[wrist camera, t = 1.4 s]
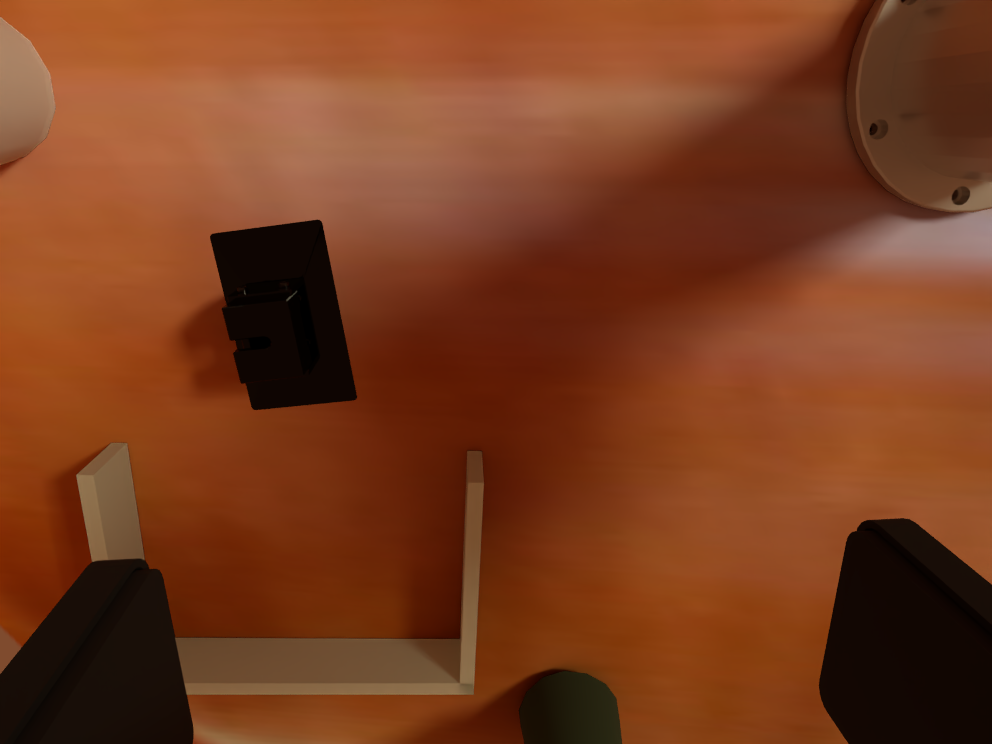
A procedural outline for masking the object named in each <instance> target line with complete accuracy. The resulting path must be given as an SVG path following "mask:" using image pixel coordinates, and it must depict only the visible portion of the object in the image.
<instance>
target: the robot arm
mask: <svg viewBox="0 0 992 744" xmlns="http://www.w3.org/2000/svg"><path fill="white" fill-rule="evenodd" d="M846 108H847V115H848V121H849V128H850V133H851V136H852V139H853V141H854V144H855V147H856V150H857V153H858V155H859V157H860V158H861V160H862V161H863V163H864V165H865V166H866V168H867V169H868V171H869V173H870V174H871V175H872V176H873V177H874V178H875V179H876V180H877V181H878V182H879V183H880V184H881V185H882V186H883V187H884V188H885V189H886V190H887V191H889V192H890V193H892V194H894V195H895V196H897V197H899V198H900V199H902V200H904V201H905V202H908V203H911V204H914V205H917V206H920V207H923V208H926V209H933V210H939V211H945V212H976V211H981V210H986V209H991V208H992V0H875V2H874V4H873V6H872V7H871V9H870V11H869V13H868V15H867V16H866V18H865V20H864V22H863V25H862V27H861V30H860V33H859V35H858V38H857V41H856V43H855V46H854V48H853V53H852V57H851V62H850V67H849V72H848V77H847V97H846ZM871 125H872V131H871V133H870V134H869V129H870V127H871ZM819 690H820V695H821V700H822V702H823V705H824V707H825V709H826V711H827V712H828V714H829V715H830V717H831V718H832V720H833V721H834V723H835V724H836V726H837V727H838V729H839V730H840V732H841V733H842V735H843V736H844V738H845V739H846V741H847V742H848V744H992V585H991V584H990V583H989V582H988V581H987V580H985V579H984V578H983V577H982V576H980V575H979V574H978V573H977V572H975V571H974V570H973V569H972V568H971V567H969V566H968V565H967V564H966V563H964V562H963V561H962V560H961V559H959V558H958V557H957V556H956V555H955V554H953V553H952V552H951V551H950V550H948V549H947V548H946V547H945V546H943V545H942V544H941V543H940V542H939V541H937V540H936V539H935V538H934V537H932V536H931V535H930V534H929V533H927V532H926V531H925V530H924V529H922V528H921V527H920V526H919V525H918V524H916V523H915V522H913V521H911V520H910V519H904V518H900V519H881V520H866V521H864V522H862V523H861V524H860V525H859V526H858V528H857V531H855V532H852V533H851V534H850V535H849V536H848V538H847V541H846V546H845V551H844V557H843V562H842V567H841V572H840V577H839V582H838V587H837V593H836V598H835V603H834V608H833V613H832V618H831V624H830V629H829V634H828V639H827V644H826V649H825V654H824V660H823V665H822V670H821V675H820V681H819ZM0 744H193V723H192V718H191V713H190V709H189V704H188V699H187V694H186V689H185V684H184V679H183V674H182V669H181V664H180V659H179V654H178V649H177V644H176V639H175V634H174V629H173V625H172V620H171V615H170V610H169V605H168V600H167V595H166V590H165V585H164V580H163V577H162V574H161V572H160V571H159V570H158V569H149V567H148V564H147V563H146V561H145V560H143V559H141V558H136V559H117V560H98V561H94V562H92V563H91V564H90V565H88V566H87V567H86V569H85V570H84V571H83V572H82V574H81V575H80V576H79V577H78V579H77V580H76V581H75V582H74V584H73V585H72V586H71V587H70V589H69V590H68V591H67V592H66V593H65V595H64V596H63V597H62V598H61V600H60V601H59V602H58V603H57V605H56V606H55V607H54V608H53V610H52V611H51V612H50V613H49V615H48V616H47V617H46V618H45V620H44V621H43V622H42V623H41V624H40V626H39V627H38V628H37V629H36V631H35V632H34V633H33V634H32V636H31V637H30V638H29V639H28V641H27V642H26V643H25V644H24V646H23V647H22V648H21V649H20V651H19V652H18V653H17V654H16V655H15V657H14V658H13V659H12V660H11V662H10V663H9V664H8V665H7V667H6V668H5V669H4V670H3V672H2V673H1V674H0Z"/></svg>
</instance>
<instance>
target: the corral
mask: <svg viewBox="0 0 992 744" xmlns="http://www.w3.org/2000/svg"><path fill="white" fill-rule="evenodd" d="M76 477H77V482H78V488H79V493H80V499H81V504H82V510H83V515H84V520H85V526H86V531H87V537H88V542H89V548H90V553H91V559H92V562H94V561H98V560H117V559H136V558H141V559H143V560H145V558H144V551H143V545H142V538H141V531H140V525H139V518H138V512H137V505H136V498H135V492H134V485H133V479H132V472H131V465H130V459H129V452H128V446H127V443H111V444H110V445H109V446H107V447H106V448H105V449H104V450H103V451H102V452H101V453H100V454H99V455H98V456H96V457H95V458H94V459H93V460H92V461H91V462H90V463H89V464H88V465H87V466H86V467H84V468H83V469H82V470H81V471H80V472H79V473H78V474H77V475H76ZM483 492H484V476H483V461H482V451H467V470H466V495H465V521H464V547H463V572H462V598H461V623H460V639H352V638H175V639H176V644H177V649H178V654H179V659H180V664H181V669H182V674H183V679H184V684H185V689H186V694H187V695H474V674H475V654H476V634H477V614H478V593H479V573H480V553H481V533H482V513H483Z"/></svg>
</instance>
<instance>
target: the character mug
mask: <svg viewBox="0 0 992 744" xmlns="http://www.w3.org/2000/svg"><path fill="white" fill-rule="evenodd" d="M519 715H520V723H521V729H522V734H523V739H524V743H525V744H622V739H621V729H620V720H619V713H618V707H617V700H616V697H615V696H614V695H613V693H612V692H611V691H610V689H609V688H608V687H607V685H606V684H605V683H603V682H601V681H599V680H597V679H596V678H594V677H592V676H590V675H588V674H585V673H577V672H568V671H563V672H559V673H556V674H553V675H550V676H546V677H543V678H542V679H541V680H539V681H538V682H537V683H536V684H535V685H534V686H533V687H532V688H531V689H529V690H528V691H527V692H526V695H525V697H524V699H523V702H522V704H521V707H520V709H519Z"/></svg>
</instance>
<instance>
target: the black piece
mask: <svg viewBox="0 0 992 744" xmlns="http://www.w3.org/2000/svg"><path fill="white" fill-rule="evenodd" d="M210 239H211V243H212V248H213V252H214V256H215V260H216V264H217V268H218V272H219V276H220V280H221V284H222V288H223V292H224V296H225V301H226V305H225V306H224V307H223V308H222V311H223V315H224V319H225V323H226V327H227V331H228V335H229V339H230V340H231V341H233V340H235V341H236V345H237V350H236V351H235V352H234V353H233V355H234V359H235V362H236V366H237V370H238V374H239V378H240V382H241V383H242V384H244V383H246V386H247V390H248V394H249V398H250V403H251V407H252V408H253V409H254V410H261V409H271V408H281V407H291V406H301V405H311V404H322V403H332V402H342V401H352V400H356V398H357V395H356V390H355V385H354V380H353V375H352V370H351V365H350V360H349V355H348V350H347V345H346V340H345V335H344V330H343V325H342V320H341V315H340V310H339V305H338V300H337V295H336V290H335V285H334V280H333V275H332V270H331V265H330V260H329V255H328V250H327V245H326V240H325V235H324V230H323V225H322V222H321V221H320V220H312V221H305V222H297V223H290V224H282V225H275V226H267V227H260V228H252V229H245V230H237V231H230V232H222V233H215V234H212V235H211V236H210Z"/></svg>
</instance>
